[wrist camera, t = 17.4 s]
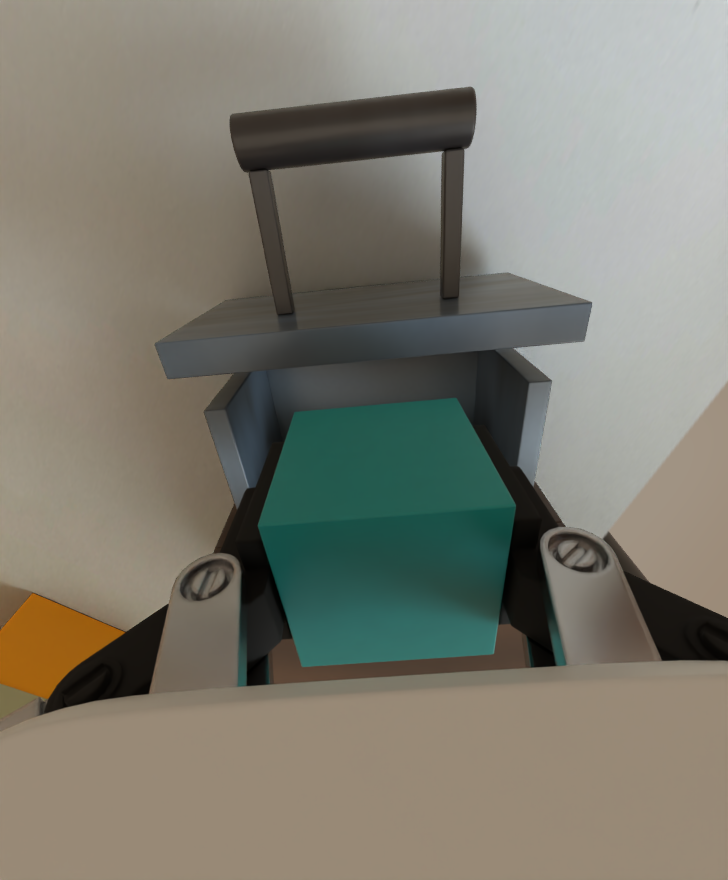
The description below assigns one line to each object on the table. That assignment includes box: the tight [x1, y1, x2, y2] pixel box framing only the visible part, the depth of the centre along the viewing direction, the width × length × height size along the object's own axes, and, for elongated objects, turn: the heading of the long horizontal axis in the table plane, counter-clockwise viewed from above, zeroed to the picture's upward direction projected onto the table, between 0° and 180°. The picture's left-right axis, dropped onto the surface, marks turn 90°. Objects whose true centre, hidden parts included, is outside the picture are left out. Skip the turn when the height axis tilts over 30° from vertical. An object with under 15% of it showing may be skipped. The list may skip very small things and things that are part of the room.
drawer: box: [155, 87, 592, 509], centre depth 17 cm, size 19×13×7 cm
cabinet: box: [213, 482, 566, 684], centre depth 23 cm, size 15×15×9 cm
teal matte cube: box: [258, 398, 516, 667], centre depth 10 cm, size 4×4×4 cm
